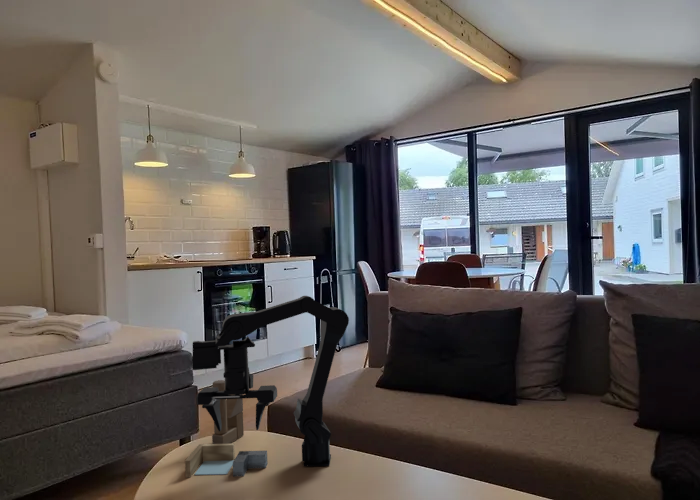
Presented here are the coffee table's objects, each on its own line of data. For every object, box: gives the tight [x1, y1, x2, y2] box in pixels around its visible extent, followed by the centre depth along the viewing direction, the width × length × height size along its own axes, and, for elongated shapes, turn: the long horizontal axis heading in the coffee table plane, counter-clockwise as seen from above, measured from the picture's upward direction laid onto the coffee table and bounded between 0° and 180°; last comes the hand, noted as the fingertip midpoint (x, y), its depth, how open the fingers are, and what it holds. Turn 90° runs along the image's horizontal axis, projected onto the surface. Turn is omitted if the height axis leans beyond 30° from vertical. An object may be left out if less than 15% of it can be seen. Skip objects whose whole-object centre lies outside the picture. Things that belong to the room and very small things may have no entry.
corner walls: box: [184, 442, 236, 478], centre depth 130 cm, size 9×11×4 cm
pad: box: [193, 460, 234, 476], centre depth 129 cm, size 8×8×1 cm
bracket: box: [232, 450, 269, 477], centre depth 128 cm, size 7×7×4 cm
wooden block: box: [211, 379, 245, 444], centre depth 148 cm, size 4×11×18 cm, turn 160°
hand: (238, 430), depth 126 cm, fingers open, 9 cm apart
